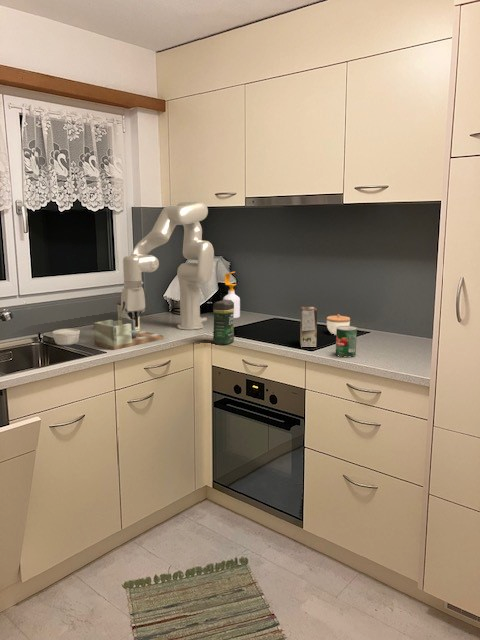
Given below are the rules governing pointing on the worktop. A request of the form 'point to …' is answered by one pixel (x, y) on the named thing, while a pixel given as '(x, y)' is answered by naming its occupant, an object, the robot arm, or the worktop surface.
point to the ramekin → (66, 336)
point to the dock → (120, 335)
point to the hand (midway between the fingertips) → (134, 326)
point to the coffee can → (125, 316)
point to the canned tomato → (346, 340)
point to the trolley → (132, 322)
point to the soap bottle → (232, 296)
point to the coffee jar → (223, 322)
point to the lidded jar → (337, 322)
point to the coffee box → (308, 326)
